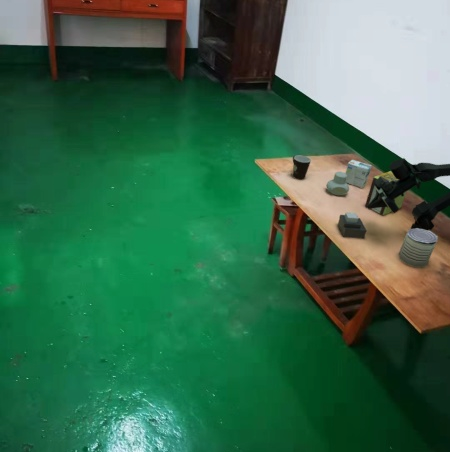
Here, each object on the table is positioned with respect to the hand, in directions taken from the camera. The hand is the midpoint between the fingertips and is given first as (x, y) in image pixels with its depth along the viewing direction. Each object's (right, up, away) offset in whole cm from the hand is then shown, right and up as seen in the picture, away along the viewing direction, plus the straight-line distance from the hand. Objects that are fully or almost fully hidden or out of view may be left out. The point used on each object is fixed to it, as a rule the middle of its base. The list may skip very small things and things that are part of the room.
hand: (367, 207), depth 190 cm
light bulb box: (+8, +16, +47) cm, 50 cm away
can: (+16, -21, -7) cm, 27 cm away
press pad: (-6, -5, +3) cm, 9 cm away
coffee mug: (-21, +20, +48) cm, 56 cm away
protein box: (+16, +2, +28) cm, 32 cm away
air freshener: (-4, +10, +36) cm, 38 cm away
